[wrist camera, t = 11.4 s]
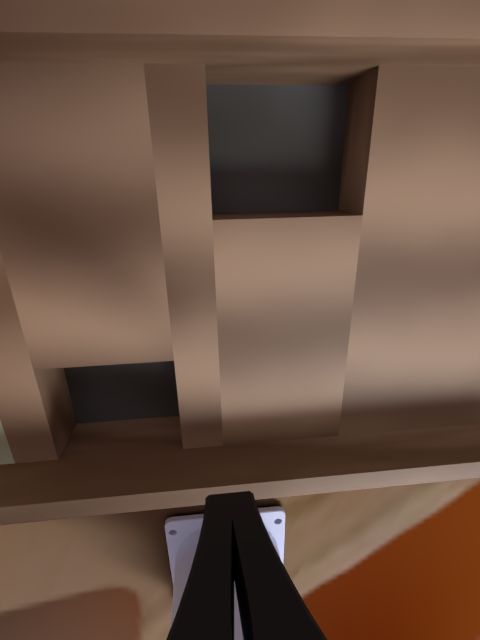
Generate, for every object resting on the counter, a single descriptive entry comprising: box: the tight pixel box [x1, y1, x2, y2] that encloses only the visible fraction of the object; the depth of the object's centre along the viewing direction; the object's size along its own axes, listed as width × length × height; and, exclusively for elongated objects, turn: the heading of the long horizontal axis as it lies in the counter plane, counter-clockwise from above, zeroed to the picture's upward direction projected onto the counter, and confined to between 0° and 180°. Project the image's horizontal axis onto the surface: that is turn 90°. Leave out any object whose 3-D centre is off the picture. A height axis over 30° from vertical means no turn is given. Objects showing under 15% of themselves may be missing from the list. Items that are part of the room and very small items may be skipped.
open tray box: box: [0, 0, 480, 525], centre depth 15 cm, size 18×30×6 cm, turn 91°
